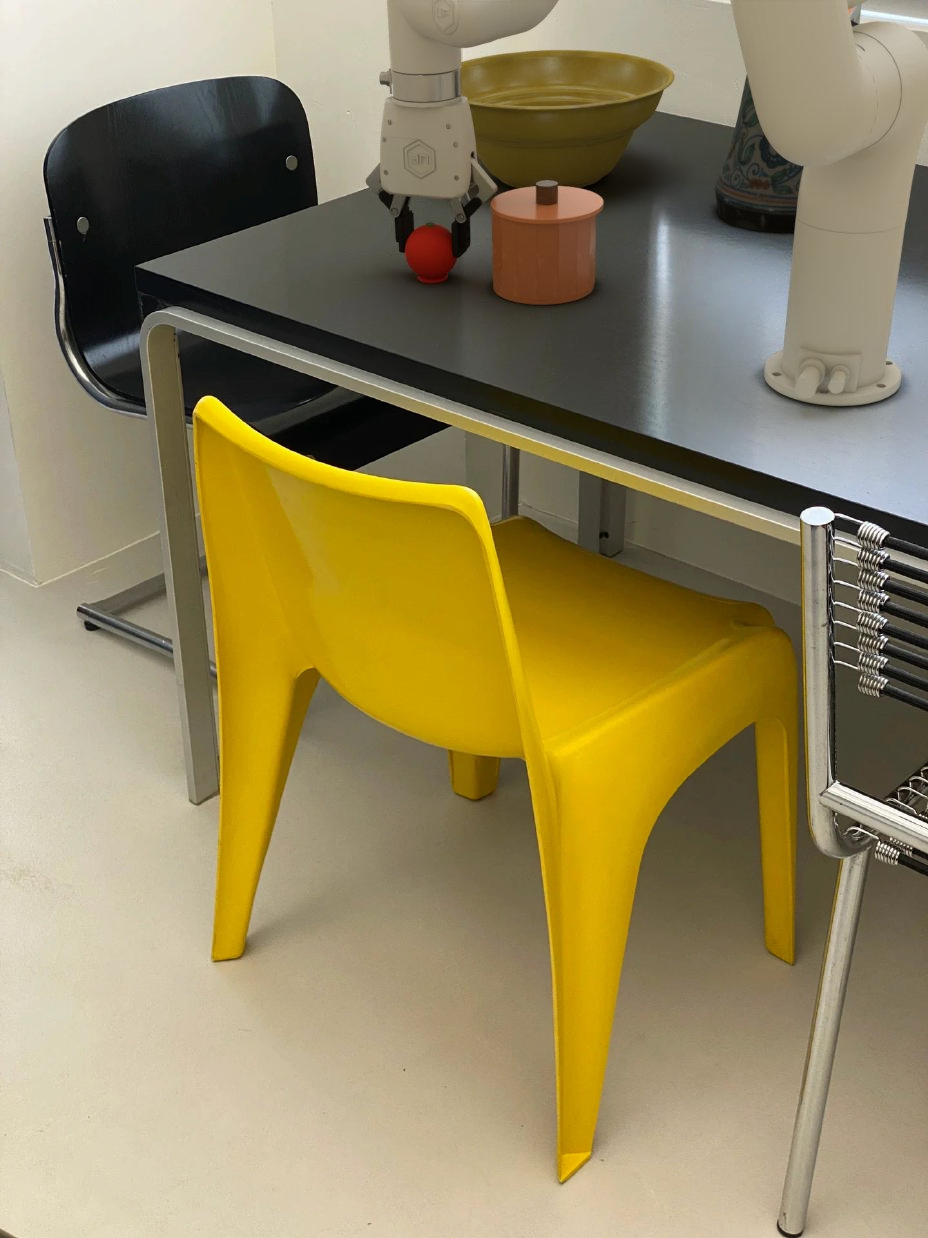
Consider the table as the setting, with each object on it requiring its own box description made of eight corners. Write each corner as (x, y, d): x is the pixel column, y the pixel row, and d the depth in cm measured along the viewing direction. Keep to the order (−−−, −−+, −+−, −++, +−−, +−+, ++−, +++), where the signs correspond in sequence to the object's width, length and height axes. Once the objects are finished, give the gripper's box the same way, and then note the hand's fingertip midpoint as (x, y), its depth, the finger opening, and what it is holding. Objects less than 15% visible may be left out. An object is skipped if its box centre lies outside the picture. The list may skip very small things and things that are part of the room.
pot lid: (587, 233, 147) (588, 203, 145) (475, 225, 150) (475, 195, 149) (615, 199, 157) (615, 170, 155) (509, 192, 160) (509, 164, 158)
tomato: (448, 288, 159) (445, 233, 155) (398, 284, 160) (395, 229, 157) (466, 271, 163) (464, 217, 160) (418, 267, 165) (415, 213, 162)
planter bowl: (568, 229, 175) (569, 116, 168) (384, 184, 194) (378, 81, 186) (716, 170, 194) (723, 67, 187) (536, 134, 213) (536, 40, 206)
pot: (577, 308, 152) (578, 226, 147) (479, 299, 156) (477, 217, 151) (605, 274, 161) (607, 195, 156) (512, 265, 164) (511, 187, 159)
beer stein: (729, 189, 187) (743, -17, 173) (880, 201, 181) (907, -11, 167) (699, 227, 174) (713, 8, 160) (861, 241, 168) (889, 15, 154)
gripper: (338, 89, 151) (350, 255, 160) (491, 97, 145) (494, 269, 155) (366, 73, 156) (376, 234, 166) (514, 81, 151) (516, 247, 161)
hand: (433, 249), depth 161 cm, fingers closed on tomato, 5 cm apart
